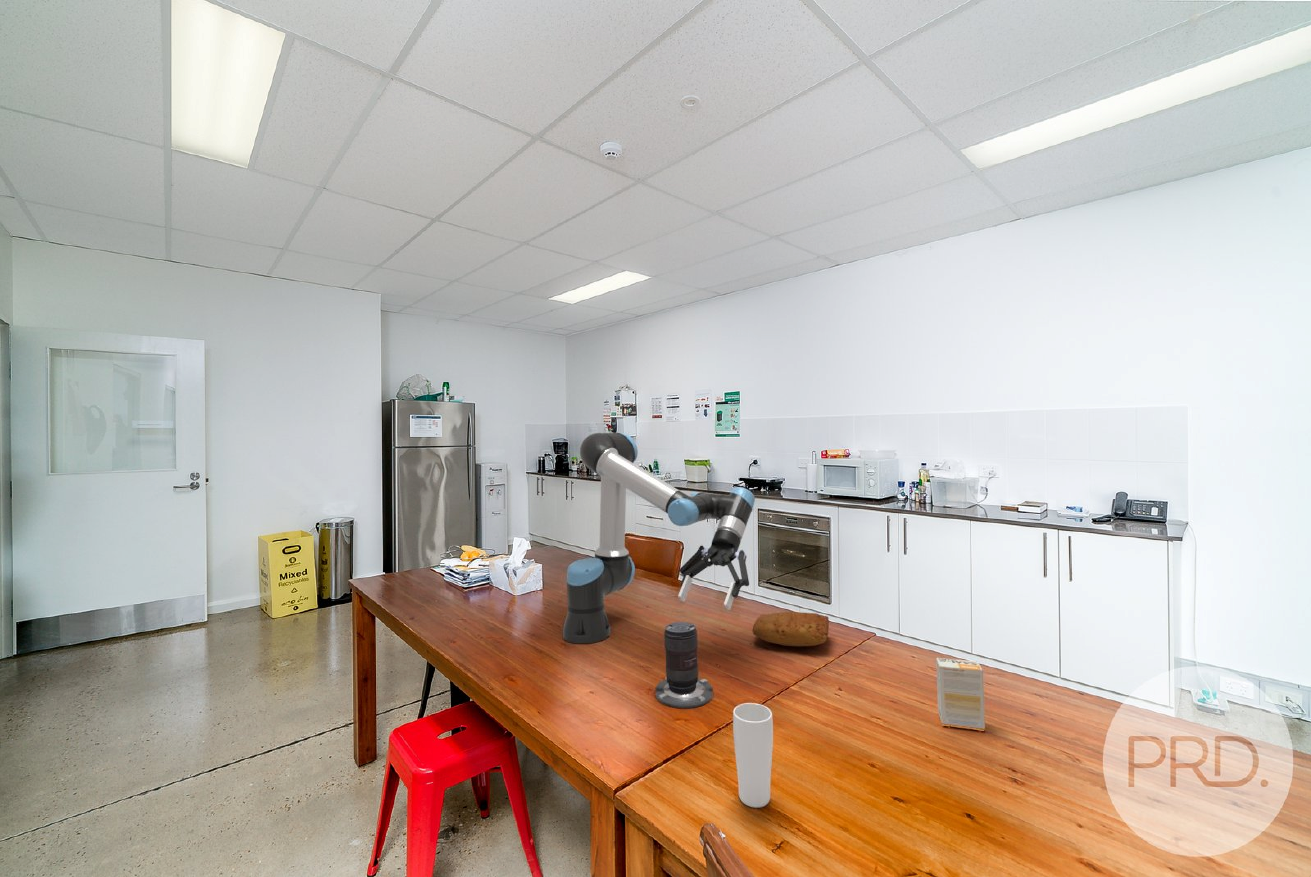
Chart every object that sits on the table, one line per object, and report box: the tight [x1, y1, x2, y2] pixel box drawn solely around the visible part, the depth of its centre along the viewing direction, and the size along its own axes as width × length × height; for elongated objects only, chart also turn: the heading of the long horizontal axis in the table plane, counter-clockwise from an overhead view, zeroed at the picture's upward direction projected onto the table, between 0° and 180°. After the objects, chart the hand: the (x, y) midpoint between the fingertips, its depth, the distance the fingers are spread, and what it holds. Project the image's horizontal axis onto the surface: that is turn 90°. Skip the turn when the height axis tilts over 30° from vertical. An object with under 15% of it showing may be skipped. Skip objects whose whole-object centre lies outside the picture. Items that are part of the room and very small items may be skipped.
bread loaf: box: [751, 611, 830, 647], centre depth 161 cm, size 22×17×8 cm
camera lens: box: [663, 621, 699, 694], centre depth 131 cm, size 8×8×15 cm
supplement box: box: [935, 657, 986, 731], centre depth 114 cm, size 8×5×13 cm, turn 71°
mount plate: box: [654, 677, 714, 709], centre depth 130 cm, size 14×14×2 cm
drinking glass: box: [732, 702, 774, 809], centre depth 92 cm, size 7×7×15 cm
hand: (703, 603), depth 139 cm, fingers open, 13 cm apart
